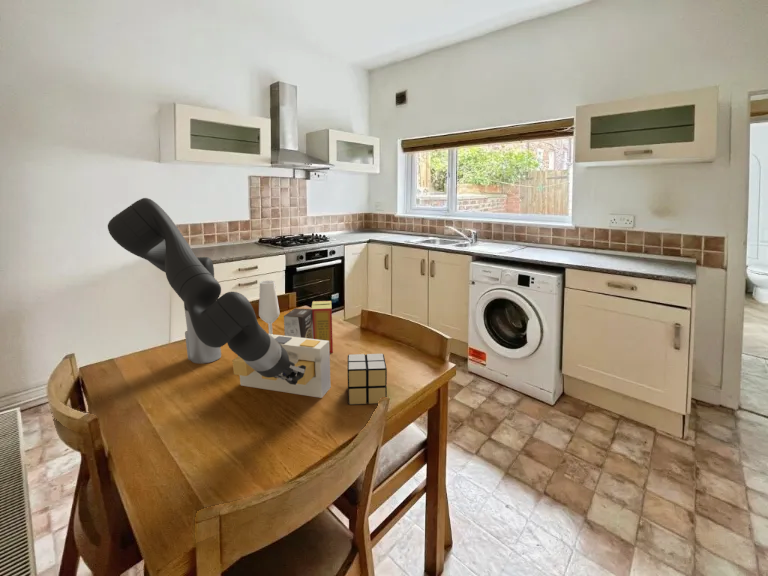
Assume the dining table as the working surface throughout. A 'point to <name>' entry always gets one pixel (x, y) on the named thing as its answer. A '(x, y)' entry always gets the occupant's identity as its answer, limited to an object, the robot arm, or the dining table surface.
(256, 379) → the block
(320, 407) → the dining table surface
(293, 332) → the coffee box
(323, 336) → the baking soda box
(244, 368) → the button
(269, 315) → the champagne flute
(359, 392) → the puzzle cube
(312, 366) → the button
